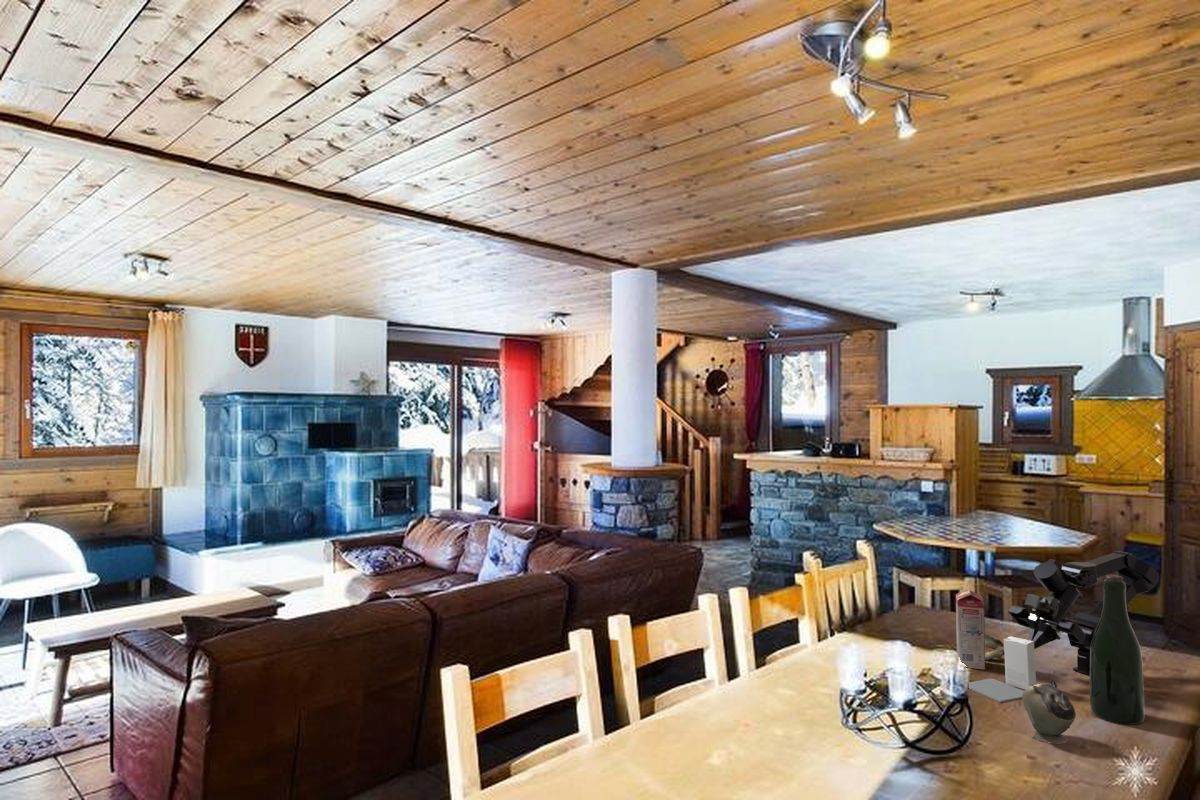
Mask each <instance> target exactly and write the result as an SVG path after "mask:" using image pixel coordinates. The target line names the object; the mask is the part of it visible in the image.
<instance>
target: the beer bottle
mask: <svg viewBox="0 0 1200 800" xmlns="http://www.w3.org/2000/svg"><path fill="white" fill-rule="evenodd" d="M1102 587H1103V599H1104V601H1103V611H1102V615H1101V619H1100V621H1099V623H1098V626H1097V628H1096V630H1095V632H1094V634H1093V637H1092V641H1091V648H1090V675H1089V706H1090V707H1089V709H1090V711H1091V712H1092V714H1094V715H1096V717H1098V718H1100V719H1103V720H1106V721H1109V722H1111V723H1116V724H1122V725H1123V724H1124V725H1139V724H1141V723H1143V722H1144V720H1145V710H1146V709H1145V690H1144V689H1145V685H1144V669H1143V667H1144V666H1143V664H1144V663H1143V656H1142V655H1143V654H1142V653H1143V652H1142V650H1141V646H1140V642H1139V640H1138V638H1137V636H1136V634H1135V631H1134V629H1133V627H1132V624H1131V622H1130V618H1129V614H1128V609H1127V606H1126V595H1125V591H1126V585H1125V582H1123V577H1121V576H1118V574H1107V575H1105V579H1104V580H1103V582H1102Z"/></svg>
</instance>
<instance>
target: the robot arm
mask: <svg viewBox="0 0 1200 800" xmlns="http://www.w3.org/2000/svg"><path fill="white" fill-rule="evenodd" d="M1115 572H1116V573H1117V575H1118V576H1121V577H1123V582H1125V585H1126V591H1125V595H1126V607H1128V605H1129V604H1130V602H1131V601H1133V599H1134V598H1135V597H1136V596H1137V595H1141V594H1145V593H1147V592H1149V591H1150V590H1152V589H1153V588H1154V587H1156V585H1158V583H1159V580H1160V574H1159V573H1158V571H1157V570H1156V568H1154V567H1153V566H1151V565H1150V564H1148V563H1146V562H1144V561H1143V560H1141V559H1139V558H1138V557H1137V556H1135V554H1132V553H1130V552H1124V551H1121V550H1115V551H1111V553H1108V554H1106V555H1102V556H1100V557H1097V558H1094V559H1091V560H1088V561H1070V562H1065V563H1063V564H1061V566H1060V564H1059V562H1058V561H1057V560H1056V559H1052V558H1051V559H1050V558H1049V559H1048V560H1047V561H1045V562H1041V563H1040V564H1038V565H1036V566H1035V567H1034V569H1033V574H1034V577H1036V579H1037V580H1038V582H1040V583H1041V585H1042V586H1043V587H1044V589H1045V590H1046V591H1048V592H1049V595H1048V596H1047V597H1046V596H1039V595H1035V594H1031V593H1027V595H1026V597H1025V601H1024V604H1023V605H1024V606H1027V607H1029V608H1031V611H1032V612H1033V613H1031V612H1030V611H1029V610H1028V609H1027V608H1025V607H1023V606H1020V605H1015V604H1014V605H1011V606H1010V608H1009V610H1008V611H1007V613H1008V614H1009V615H1010V616H1011V618H1012V619H1013V620H1014V621H1015V622H1016V623H1017V624H1018V625H1020V626H1022V627H1025V628H1029V633H1028V640H1030V641H1034V650H1037V649H1038V648H1040V647H1043V645H1046V644H1048V643H1051V642H1054V641H1056V640H1058V641H1060V640H1061V634H1063V633H1065V634H1067V635H1066V636H1067V639H1068V642H1069V645H1070V647H1075V648H1077V655H1076V657H1077V658H1076V663H1077V664H1076V665H1077V666H1075V667H1074V666H1073V667H1072V670H1073V671H1075V672H1079V673H1081V674H1084V675H1087V676H1090V648H1091V641H1092V637H1093V634H1094V632H1095V630H1096V628H1097V626H1098V623H1099V621H1100V619H1101V615H1102V611H1103V601H1104V598H1102V600H1101V601H1100V602H1099V603H1098V604H1097V605H1096V606H1095V608H1094V609H1093V610H1092V611H1090V613H1085V612H1081V611H1079V612H1078V613H1076V615H1075V616H1074V617H1073V618H1072V619H1070V620H1068V619H1065V618H1071V616H1072V614H1071V612H1070V610H1071V609H1072V607H1073V605H1075V602H1076V601H1078V602H1084V596H1083V594H1082V591H1081V590H1079V589H1078V588H1077V587H1079V588H1080V587H1081V588H1085V589H1089V588H1091V587H1092V586H1094V585H1096V584H1097V583H1098V581H1099V578H1101V577H1104V576H1106V575H1111V574H1112V573H1115Z"/></svg>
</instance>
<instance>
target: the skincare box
mask: <svg viewBox="0 0 1200 800" xmlns="http://www.w3.org/2000/svg"><path fill="white" fill-rule="evenodd" d="M1003 647H1004V655H1003V656H1004V669H1005V670H1004V672H1005V684H1008V685H1010V686H1013V687H1015V688H1018V689H1020V690H1024V691H1025V690H1026V689H1027V688H1028V687H1030V686H1032V685H1037V676H1036V675H1037V674H1036V657H1035V654H1036V653H1035V649H1034V641H1030V640H1029V639H1024V638H1020V637H1017V636H1016V637H1015V636H1012V635H1011V636H1008V637H1006V638H1003Z"/></svg>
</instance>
